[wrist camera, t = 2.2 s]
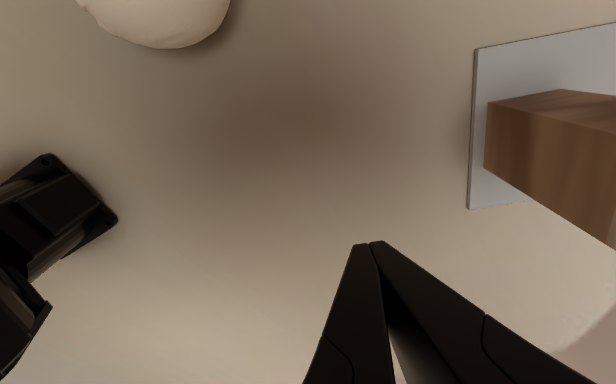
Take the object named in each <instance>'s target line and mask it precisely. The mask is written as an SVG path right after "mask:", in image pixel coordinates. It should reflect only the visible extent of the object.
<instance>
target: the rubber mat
mask: <svg viewBox="0 0 616 384" xmlns="http://www.w3.org/2000/svg"><path fill="white" fill-rule="evenodd" d="M558 89H567V90H575V91H583V92H591V93H598V94H606V95H614V96H616V22H615V23H610V24H604V25H599V26H594V27H589V28H584V29H578V30H573V31H568V32H563V33H558V34H553V35H547V36H542V37H537V38H532V39H527V40H522V41H516V42H511V43H506V44H501V45H496V46H491V47H485V48H480V49H475V61H474V80H473V99H472V118H471V137H470V156H469V175H468V194H467V208H468V209H469V210H474V209H480V208H487V207H493V206H499V205H506V204H512V203H518V202H525V201H531V200H534V199H532V198H531V197H529V196H528V195H526V194H524V193H523V192H521V191H520V190H518V189H516V188H515V187H513V186H512V185H510V184H508V183H507V182H505V181H504V180H502V179H500V178H499V177H497V176H496V175H494V174H492V173H491V172H489V171H488V170H486V169H484V168H483V162H484V148H485V135H486V121H487V108H488V102H491V101H497V100H502V99H508V98H513V97H519V96H524V95H530V94H535V93H541V92H547V91H552V90H558Z"/></svg>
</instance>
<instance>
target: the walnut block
mask: <svg viewBox="0 0 616 384" xmlns="http://www.w3.org/2000/svg"><path fill="white" fill-rule="evenodd" d="M483 168H484V169H486V170H488V171H489V172H491V173H492V174H494V175H496V176H497V177H499V178H500V179H502V180H504V181H505V182H507V183H508V184H510V185H512V186H513V187H515V188H516V189H518V190H520V191H521V192H523V193H524V194H526V195H528V196H529V197H531V198H532V199H534V200H536V201H537V202H539V203H540V204H542V205H544V206H545V207H547V208H548V209H550V210H552V211H553V212H555V213H556V214H558V215H560V216H561V217H563V218H564V219H566V220H568V221H569V222H571V223H572V224H574V225H576V226H577V227H579V228H580V229H582V230H583V231H585V232H587V233H588V234H590V235H591V236H593V237H595V238H596V239H598V240H599V241H601V242H603V243H604V244H606V245H607V246H609V247H611V248H612V249H614V250H615V251H616V96H614V95H606V94H598V93H591V92H583V91H575V90H567V89H558V90H552V91H547V92H541V93H535V94H530V95H524V96H519V97H513V98H508V99H502V100H497V101H491V102H488V108H487V121H486V135H485V148H484V162H483Z"/></svg>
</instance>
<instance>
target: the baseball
mask: <svg viewBox="0 0 616 384" xmlns="http://www.w3.org/2000/svg"><path fill="white" fill-rule="evenodd" d="M75 1H76V3H77V4H78V6H79V7H80V8H81V9H82V10H84V11H88V12H89V13H90V14H91V15H92V16H93V17H94V18H95V19H96V20H97V23H98V25H99V26H100V27H102V28H103V29H104V30H105V31H107V32H108V33H109V34H111V35H115V36H117V37H121V38H123V39H125V40H127V41H129V42H132V43H134V44H138V45H142V46H145V47H151V48H156V49H171V48H172V49H178V48H183V47H186V46H190V45H193V44H196V43H198V42H199V41H201V40H203V39H204V38H206V37H207V36H209V35H210V34H212V33H214V32H215V31H216V30H217V29H218V28H219V26H220V25H221V23H222V21H223V19H224V17H225V15H226V13H227V10H228V7H229V4H230V0H75Z"/></svg>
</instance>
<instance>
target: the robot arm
mask: <svg viewBox="0 0 616 384" xmlns="http://www.w3.org/2000/svg"><path fill="white" fill-rule="evenodd" d="M46 160H48V162H49V163H47V161H46ZM108 220H110V221H111V222H109V221H108ZM117 222H118V220H117V218H116V217H115V216H114V215H113V214H112V213H111V212H110V211H109V210H108V209H107V208H106V207H105V206H104V205H103V204H102V203H101V202H100V201H99V200H98V199H97V198H96V197H95V196H94V195H93V194H92V193H91V192H90V191H89V190H88V189H87V188H86V187H85V186H84V185H83V184H82V183H81V182H80V181H79V180H78V179H77V178H76V177H75V176H74V175H73V174H72V173H71V172H70V171H69V170H68V169H67V168H66V167H65V166H64V165H63V164H61V163H60V162H59V161H58V160H57V159H56V158H55V157H54V156H53V155H51V154H44V155H41V156H39V157H37V158H36V159H35V160H33V161H32V162H31V163H29V164H28V165H27V166H25V167H24V168H23V169H21V170H20V171H19V172H17V173H16V174H15V175H13V176H12V177H11V178H9V179H8V180H7V181H5V182H4V183H3V184H1V185H0V381H1V380H2V379H3V378H4V377H5V376H6V375H7V374H8V373H9V372H10V371H11V370H12V369H13V368H14V366H15V365H16V364H17V362H18V361H19V360H20V358H21V357H22V355H23V354H24V352H25V350H26V349H27V347H28V346H29V344H30V343H31V341H32V339H33V338H34V336H35V335H36V333H37V332H38V330H39V329H40V327H41V325H42V324H43V322H44V321H45V319H46V318H47V316H48V314H49V313H50V311H51V310H52V308H53V307H52V305H51V304H50V303H49V302H48V301H45V300H44V299H43V298H42V297H41V295H40V294H39V293H38V292H37V291H36V289H35V288H34V287H33V286H32V285H31V284H30V283H31V282H33V281H34V280H35V279H36V278H37V277H39V276H40V275H41V274H42V273H43V272H45V271H46V270H47V269H48V268H49V267H51V266H52V265H53V264H54V263H56V262H57V261H58V260H59V259H63V258H65V257H66V256H68V255H69V254H71V253H73V252H74V251H76V250H77V249H79V248H81V247H82V246H84V245H85V244H87V243H88V242H90V241H92V240H93V239H95V238H96V237H98V236H100V235H101V234H103V233H104V232H106V231H108V230H109V229H111V228H112V227H114V226H115V225H116V224H117ZM389 338H390V341H391V343H392V346H393V348H394V351H395V354H396V356H397V359H398V361H399V364H400V367H401V369H402V372H403V375H404V377H405V380H406V382H407V384H597V383H595V382H593V381H591V380H590V379H588V378H586V377H585V376H583V375H581V374H580V373H578V372H576V371H575V370H573V369H571V368H570V367H568V366H566V365H564V364H563V363H561V362H560V361H558V360H557V359H555V358H553V357H552V356H550V355H549V354H547V353H545V352H544V351H542V350H540V349H539V348H537V347H536V346H534V345H532V344H531V343H529V342H528V341H526V340H525V339H523V338H522V337H520V336H519V335H517V334H516V333H514V332H513V331H511V330H510V329H508V328H507V327H505V326H504V325H503V324H501V323H500V322H498V321H497V320H495V319H494V318H493V317H491V316H490V315H488V314H486V315H485V312H484V311H483V310H481V309H480V308H478V307H477V306H475V305H474V304H473V303H471V302H470V301H468V300H467V299H465V298H464V297H463V296H461V295H460V294H458V293H457V292H456V291H454V290H453V289H451V288H450V287H448V286H447V285H446V284H444V283H443V282H441V281H440V280H439V279H437V278H436V277H434V276H433V275H431V274H430V273H429V272H427V271H426V270H424V269H423V268H422V267H420V266H419V265H417V264H416V263H414V262H413V261H412V260H410V259H409V258H407V257H406V256H405V255H403V254H402V253H400V252H399V251H397V250H396V249H395V248H393V247H392V246H390V245H389V244H388V243H386V242H385V241H382V240H381V241H375V242H370V243H369V244H367V243H362V244H355V245H353V247H352V249H351V252H350V255H349V258H348V261H347V264H346V266H345V269H344V272H343V275H342V278H341V281H340V284H339V287H338V289H337V292H336V295H335V298H334V301H333V304H332V307H331V309H330V312H329V315H328V318H327V321H326V324H325V327H324V329H323V332H322V337H321V338H320V340H319V343H318V346H317V349H316V352H315V354H314V357H313V359H312V362H311V365H310V367H309V370H308V372H307V374H306V377H305V379H304V381H303V383H302V384H396V382H395V375H394V368H393V362H392V355H391V348H390V341H389Z"/></svg>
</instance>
